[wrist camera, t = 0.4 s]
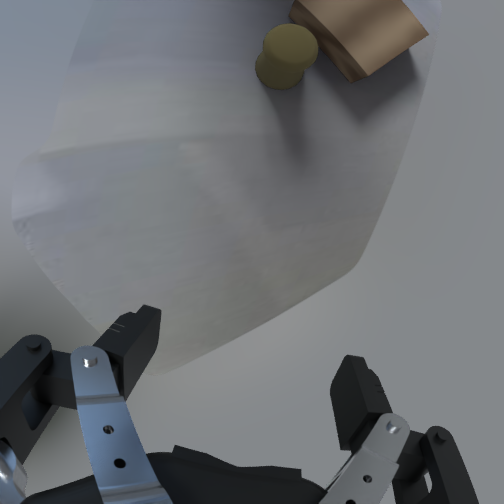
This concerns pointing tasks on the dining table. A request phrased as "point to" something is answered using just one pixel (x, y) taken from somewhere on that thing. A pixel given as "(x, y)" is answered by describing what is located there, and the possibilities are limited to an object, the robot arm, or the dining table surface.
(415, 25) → the walnut block
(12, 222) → the dining table surface
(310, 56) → the cork
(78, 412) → the robot arm
